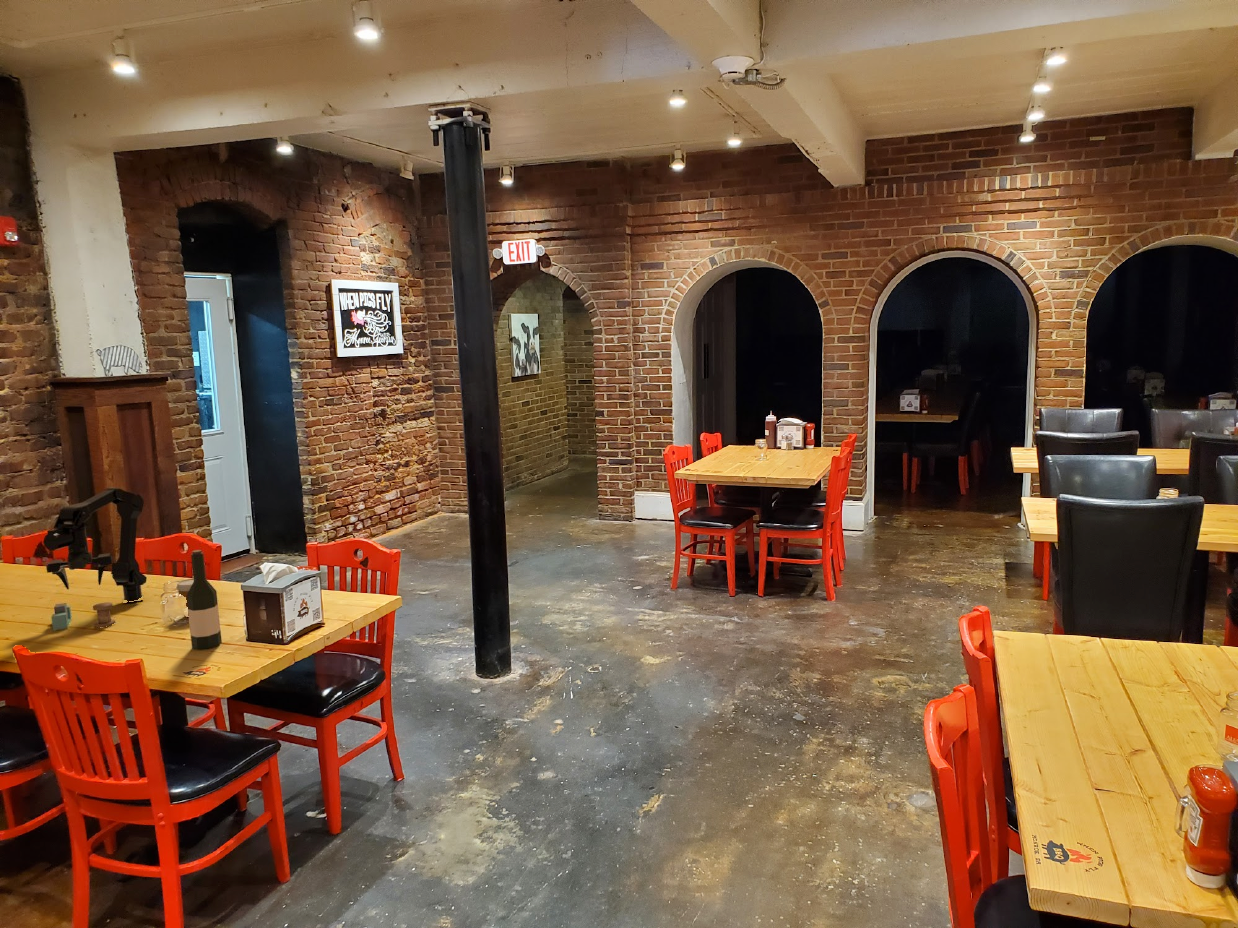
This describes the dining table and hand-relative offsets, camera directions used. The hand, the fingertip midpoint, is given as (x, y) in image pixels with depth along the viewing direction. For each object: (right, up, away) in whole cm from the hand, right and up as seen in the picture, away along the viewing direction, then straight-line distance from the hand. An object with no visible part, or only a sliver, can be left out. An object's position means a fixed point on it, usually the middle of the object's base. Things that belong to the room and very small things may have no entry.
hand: (84, 586), depth 285 cm
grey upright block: (-5, -11, -3) cm, 13 cm away
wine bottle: (+56, -14, -28) cm, 64 cm away
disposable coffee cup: (+37, -10, +3) cm, 38 cm away
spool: (+10, -12, -5) cm, 17 cm away
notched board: (-5, -12, -3) cm, 14 cm away
